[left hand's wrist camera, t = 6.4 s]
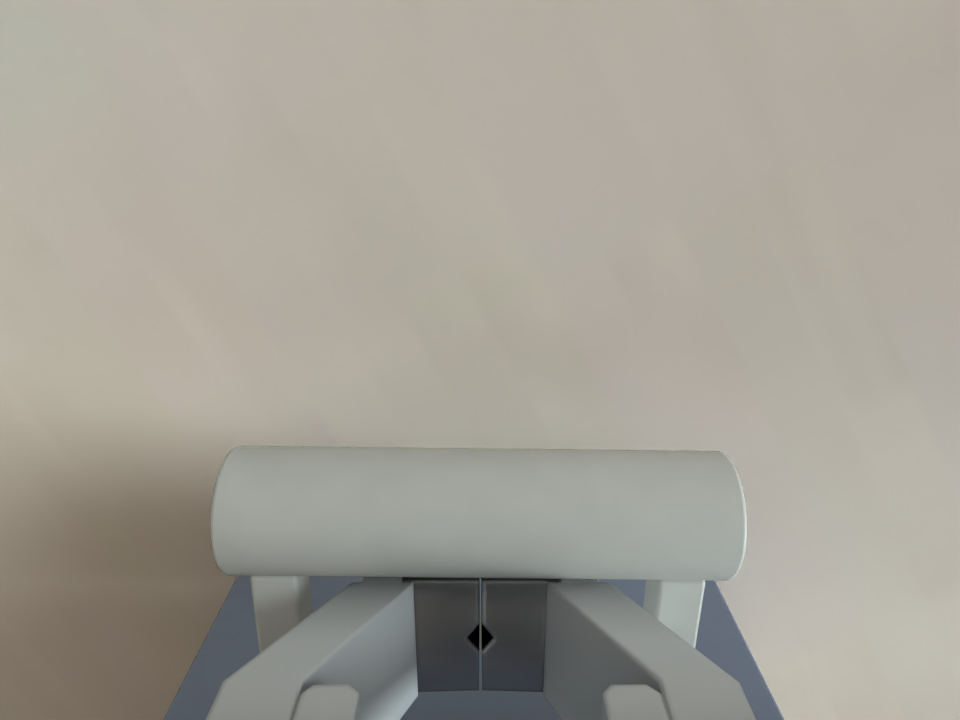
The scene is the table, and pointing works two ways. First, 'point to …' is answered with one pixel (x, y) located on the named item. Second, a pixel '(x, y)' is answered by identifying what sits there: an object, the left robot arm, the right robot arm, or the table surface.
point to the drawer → (472, 546)
